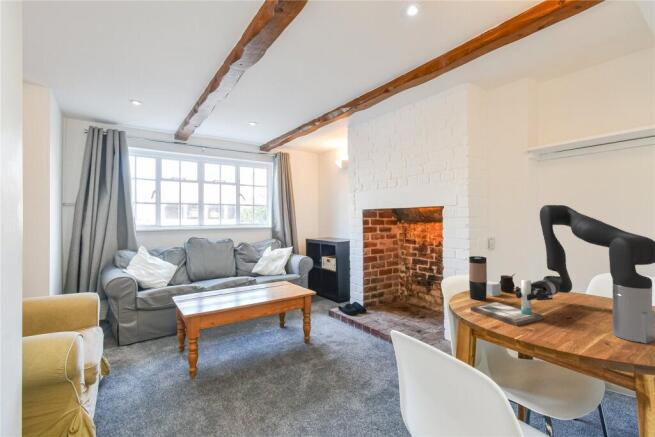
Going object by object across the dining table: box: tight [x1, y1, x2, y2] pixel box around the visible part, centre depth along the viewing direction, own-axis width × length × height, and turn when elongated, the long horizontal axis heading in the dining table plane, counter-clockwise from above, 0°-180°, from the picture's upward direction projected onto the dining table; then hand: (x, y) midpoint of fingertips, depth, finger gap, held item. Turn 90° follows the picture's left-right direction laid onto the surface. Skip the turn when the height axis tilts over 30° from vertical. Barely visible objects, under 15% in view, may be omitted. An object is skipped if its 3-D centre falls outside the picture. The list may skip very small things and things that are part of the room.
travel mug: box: [468, 255, 488, 301], centre depth 147 cm, size 8×8×20 cm
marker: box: [520, 279, 532, 315], centre depth 120 cm, size 3×3×13 cm
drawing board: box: [470, 301, 544, 327], centre depth 124 cm, size 20×16×2 cm
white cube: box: [486, 280, 502, 297], centre depth 154 cm, size 6×6×6 cm
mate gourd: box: [498, 273, 516, 293], centre depth 159 cm, size 7×8×10 cm
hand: (522, 296), depth 118 cm, fingers closed on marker, 3 cm apart
